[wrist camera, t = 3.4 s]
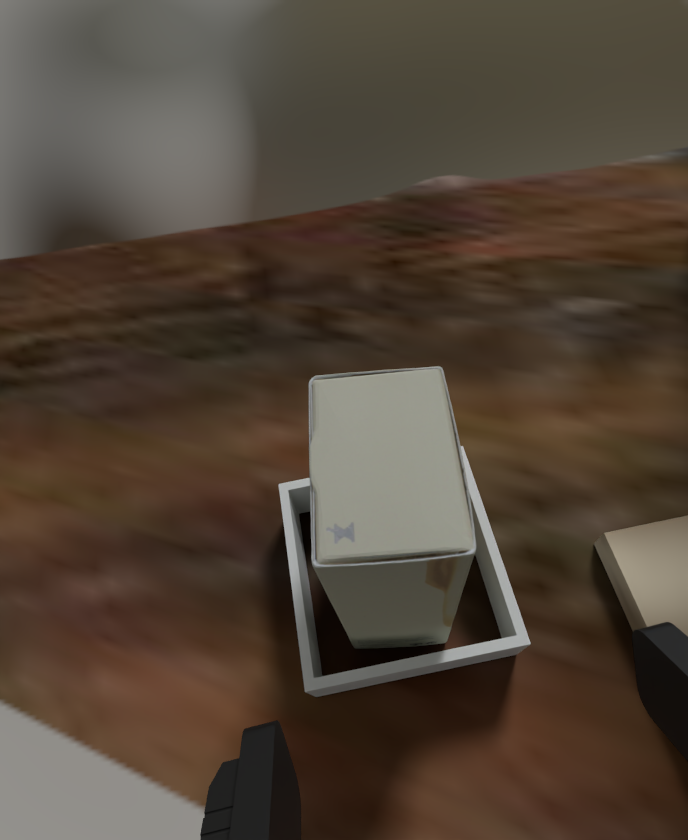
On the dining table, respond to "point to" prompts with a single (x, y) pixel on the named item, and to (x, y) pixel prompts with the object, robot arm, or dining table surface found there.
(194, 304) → the dining table surface
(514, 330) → the dining table surface
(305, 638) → the gray square frame
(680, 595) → the birch board
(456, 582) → the skincare box
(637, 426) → the dining table surface
